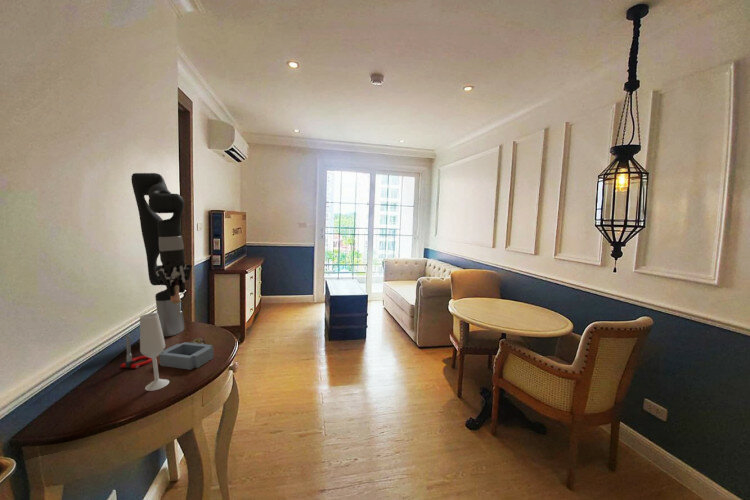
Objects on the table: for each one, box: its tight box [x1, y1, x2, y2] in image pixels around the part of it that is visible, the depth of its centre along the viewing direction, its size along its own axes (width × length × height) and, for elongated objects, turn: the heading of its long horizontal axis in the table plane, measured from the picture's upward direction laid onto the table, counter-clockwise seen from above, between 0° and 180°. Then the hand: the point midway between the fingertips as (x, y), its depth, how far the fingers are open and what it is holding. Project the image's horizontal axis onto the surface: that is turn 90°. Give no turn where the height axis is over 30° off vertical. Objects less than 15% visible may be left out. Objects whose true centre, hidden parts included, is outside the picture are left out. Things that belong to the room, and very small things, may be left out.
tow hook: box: [120, 333, 153, 369], centre depth 116 cm, size 8×13×9 cm
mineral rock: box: [189, 337, 206, 344], centre depth 129 cm, size 11×4×8 cm
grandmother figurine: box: [170, 271, 182, 304], centre depth 112 cm, size 8×4×13 cm, turn 49°
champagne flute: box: [139, 312, 170, 392], centre depth 99 cm, size 7×7×24 cm
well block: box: [158, 341, 215, 371], centre depth 117 cm, size 11×17×4 cm, turn 75°
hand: (176, 293), depth 113 cm, fingers closed on grandmother figurine, 3 cm apart
